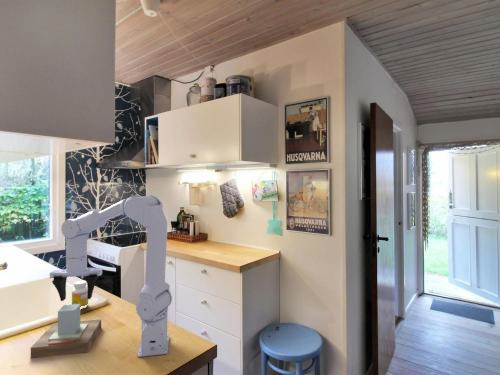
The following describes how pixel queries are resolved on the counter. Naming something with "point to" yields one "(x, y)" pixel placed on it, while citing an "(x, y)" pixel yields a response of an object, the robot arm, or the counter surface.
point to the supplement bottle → (80, 293)
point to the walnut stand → (66, 340)
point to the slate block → (69, 319)
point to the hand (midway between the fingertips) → (76, 298)
